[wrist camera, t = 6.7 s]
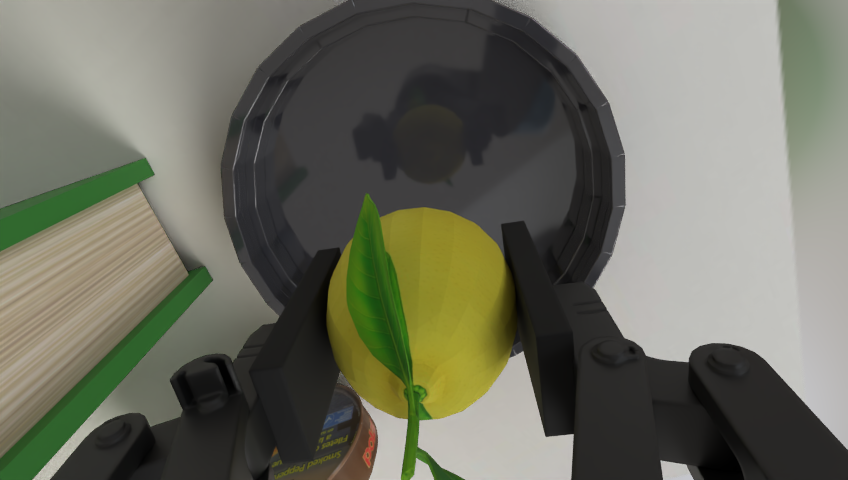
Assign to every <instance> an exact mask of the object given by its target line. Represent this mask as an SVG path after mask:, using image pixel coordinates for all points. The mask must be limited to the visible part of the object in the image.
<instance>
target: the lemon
mask: <svg viewBox="0 0 848 480" xmlns="http://www.w3.org/2000/svg"><path fill="white" fill-rule="evenodd" d="M326 326H327V331H328V336H329V340H330V343H331V347H332V351H333V355H334V359H335V361H336V363H337V365H338V367H339V369H340V371H341V372H342V374H343V375H344V377H345V378H346V379H347V381H348V382H349V384H350V385H351V387H352V388H353V389H354V390H355V391H356V392H357V394H358V395H360V396H361V397H362V398H364V399H365V400H366V401H367V402H369V403H370V404H371V405H373V406H374V407H375V408H377V409H379V410H382V411H384V412H386V413H388V414H390V415H393V416H395V417H397V418H403V419H408V427H407V436H406V445H405V452H404V459H403V467H402V475H401V480H410V479H411V478H412V477H413V475H414V471H415V463H416V458H418V459H419V460H421V461H423V462H424V463H426V464H428V465H429V467H430V470H431V472H432V474H433V477H434V480H465V479H463V478H461V477H459V476H457V475H455V474H453V473H451V472H449V471H447V470H445V469H443V468H441V467H440V466H439V465H438V464H437V463H436V462H435V461H434V459H433V458H432V457H431V456H430V455H429V454H428V453H427V452H425V451H424V450H422V449H420V448H418V447H417V446H418V434H419V420H430V419H440V418H444V417H447V416H450V415H452V414H455V413H458V412H461V411H463V410H465V409H466V408H467V407H469V406H470V405H471V404H473V403H474V402H475V401H477V400H478V399H479V398H480V397H482V396H483V395H484V394H485V393H486V392H487V391H488V390H489V388H490V387H491V386H492V384H493V383H494V382H495V380H496V379H497V377H498V376H499V375H500V373H501V372H502V370H503V369H504V367H505V366H506V365H507V362H508V359H509V356H510V353H511V349H512V346H513V342H514V339H515V335H516V331H517V306H516V293H515V284H514V280H513V276H512V273H511V271H510V269H509V266H508V264H507V262H506V260H505V258H504V256H503V254H502V252H501V250H500V248H499V246H498V245H497V243H496V242H495V241H494V240H493V239H492V238H491V237H490V236H489V235H487V234H486V233H485V232H484V231H483V230H482V229H481V228H480V227H479V226H478V225H477V224H475V223H474V222H472V221H469V220H467V219H465V218H463V217H461V216H459V215H457V214H454V213H452V212H450V211H444V210H438V209H433V208H427V207H421V208H412V209H404V210H397V211H395V212H392V213H390V214H387V215H385V216H382V217H379V213H378V210H377V207H376V205H375V204H374V202H373V201H372V200H371V198H370V196H369V194H368V193H366V194H365V197H364V201H363V205H362V208H361V211H360V214H359V218H358V221H357V224H356V228H355V232H354V237H353V238H352V239H351V240H350V241H349V243H348V244H347V246H346V247H345V249H344V251H343V253H342V255H341V257H340V260H339V262H338V264H337V266H336V268H335V270H334V272H333V275H332V278H331V280H330V285H329V290H328V302H327V314H326Z"/></svg>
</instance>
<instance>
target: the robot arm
mask: <svg viewBox="0 0 848 480" xmlns="http://www.w3.org/2000/svg"><path fill="white" fill-rule="evenodd" d="M501 229H502V238H503V246H504V254H505V260H506V262H507V264H508V266H509V269H510V271H511V273H512V276H513V280H514V284H515V293H516V306H517V327H518V331H519V335H520V339H521V343H522V347H523V351H524V355H525V358H526V362H527V366H528V370H529V374H530V378H531V382H532V386H533V390H534V393H535V397H536V401H537V405H538V409H539V413H540V417H541V421H542V425H543V428H544V432H545V436H546V437H549V436H558V435H568V434H574V441H573V459H572V478H571V480H663V477H662V469H661V462H660V460H662V461H668V462H674V463H680V464H686V465H687V467H688V469H689V471H690V473H691V475H692V477H693V479H694V480H848V450H847V449H846V448H845V447H844V446H843V444H842V443H841V442H840V441H839V440H838V439H837V438H836V437H835V436H834V435H833V434H832V432H830V430H829V429H828V428H827V427H826V426H825V425H824V424H823V423H822V422H821V421H820V419H819V418H817V416H816V415H815V414H814V413H813V412H812V411H811V410H810V409H809V407H808V406H807V405H806V404H805V403H804V402H803V401H802V400H801V399H800V398H799V397H798V396H797V394H796V393H795V392H794V391H793V390H792V389H791V388H790V387H789V386H788V385H787V384H786V382H785V381H784V380H783V379H782V378H781V377H780V376H779V375H778V374H777V373H776V372H775V371H774V369H773V368H772V367H771V366H770V365H769V364H768V363H767V362H766V361H765V360H764V359H763V358H762V357H760V356H759V355H758V354H756V353H755V352H753V351H750V350H748V349H746V348H743V347H740V346H736V345H731V344H721V343H712V344H707V345H703V346H699V347H698V348H696V349H695V350H693V351H692V353H691V355H690V357H689V362H677V361H666V360H660V359H655V358H651V357H648V356H646V355H645V353H644V351H643V349H642V348H641V347H640V346H639V345H637V344H636V343H635V342H633V341H630V340H628V339H625V338H624V337H623V335H622V334H621V332H620V330H619V329H618V327H617V325H616V324H615V322H614V320H613V319H612V317H611V315H610V314H609V312H608V311H607V309H606V307H605V305H604V304H603V302H602V301H601V299H600V297H599V295H598V294H597V292H596V290H595V289H593V288H592V287H590V286H588V285H587V284H585V283H583V282H575V283H567V284H560V285H552V283H551V281H550V278H549V276H548V274H547V272H546V269H545V267H544V265H543V263H542V260H541V258H540V256H539V253H538V251H537V249H536V247H535V244H534V242H533V240H532V238H531V235H530V233H529V231H528V229H527V226H526V224H525V222H524V221H517V222H510V223H503V224H501ZM340 257H341V252H340V248H339V247H338V248H331V249H324V250H318V251H317V253H316V255H315V256H314V258H313V260H312V262H311V263H310V265H309V267H308V268H307V270H306V272H305V274H304V275H303V277H302V279H301V281H300V282H299V284H298V286H297V288H296V289H295V291H294V293H293V295H292V296H291V298H290V300H289V301H288V303H287V305H286V307H285V308H284V310H283V312H282V314H281V315H280V317H279V319H278V321H277V322H276V323H273V324H266V325H262V326H261V327H260V328H259V329H258V330H256V331H255V332H254V333H253V334H252V335H250V337H249V338H248V340H247V341H246V343H245V345H244V346H243V349H241V351H240V352H239V354H238V356H237V359H235V360H234V362H233V363H232V361H231V358H230V357H229V356H227V355H225V354H211V355H205V356H203V357H200V358H197V359H194V360H193V361H191V362H189V363H187V364H185V365H184V366H182V367H181V368H180V369H179V370H178V371H176V372H175V373H174V375H173V376H172V377H171V379H170V382H171V385H172V387H173V389H174V391H175V394H176V396H177V398H178V400H179V402H180V405H181V407H182V409H183V411H182V414H181V417H179V418H176V419H173V420H170V421H167V422H164V423H161V424H158V425H155V426H152V427H150V425H149V423H148V421H147V419H146V417H145V416H144V415H142V414H140V413H129V414H125V415H121V416H117V417H114V418H113V419H110V420H108V421H106V422H104V423H103V424H102V425H100V426H99V427H97V428H96V429H94V430H93V431H92V432H91V433H90V434H89V435H88V436H87V437H86V438H85V439H84V440H83V441H82V442H81V444H80V445H79V446H78V447H77V448H76V450H75V451H74V452H73V453H72V454H71V455H70V457H69V458H68V459H67V460H66V461H65V463H64V464H63V465H62V466H61V467H60V468H59V470H58V471H57V472H56V473H55V474H54V476H53V477H52V478H51V479H50V480H275V476H274V471H273V468H272V466H271V463H270V459H271V457H272V454H273V452H274V449H275V447H276V448H277V450H278V453H279V456H280V459H281V461H282V464H287V463H296V462H306V461H313V459H314V456H315V453H316V449H317V446H318V443H319V439H320V436H321V433H322V429H323V426H324V423H325V419H326V416H327V413H328V410H329V406H330V403H331V400H332V396H333V393H334V390H335V386H336V383H337V380H338V377H339V373H340V369H339V367H338V365H337V363H336V361H335V359H334V355H333V351H332V347H331V343H330V340H329V336H328V331H327V326H326V314H327V302H328V290H329V285H330V280H331V278H332V275H333V272H334V270H335V268H336V266H337V264H338V262H339V260H340Z"/></svg>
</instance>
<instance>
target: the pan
mask: <svg viewBox="0 0 848 480" xmlns="http://www.w3.org/2000/svg"><path fill="white" fill-rule="evenodd" d="M232 115H233V116H231V120H230V125H229V130H228V134H227V139H226V144H225V149H224V153H223V158H222V163H221V179H222V193H223V208H224V217H225V218H224V219H225V222H226V225H227V228H228V230H229V233H230V236H231V239H232V242H233V245H234V248H235V251H236V254H237V257H238V259H239V262H240V263H241V266H242V267H243V269H244V270H245V272H246V273H247V275H248V277H249V278H250V280H251V281H252V283H253V284H254V286H255V287H256V289H257V290H258V292H259V293H260V295H261V296H262V298H263V299H264V301H265V302H266V303H267V305H268V306H269V307H271V308H272V309H273V310H274V311H275V312H276V313H277V314H278V315H279V316H280V315H281V314H282V312H283V310H284V308H285V307H286V305H287V303H288V301H289V300H290V298H291V296H292V295H293V293H294V291H295V289H296V288H297V286H298V284H299V282H300V281H301V279H302V277H303V275H304V274H305V272H306V270H307V268H308V267H309V265H310V263H311V262H312V260H313V258H314V256H315V255H316V253H317V251H318V250H324V249H331V248H338V247H339V248H340V252H341V255H342V253H343V251H344V249H345V247H346V246H347V244H348V243H349V241H350V240H351V239H352V238H353V237H354V232H355V228H356V224H357V221H358V218H359V214H360V211H361V208H362V205H363V201H364V197H365V194H366V193H368V194H369V196H370V198H371V200H372V201H373V202H374V204H375V205H376V207H377V210H378V213H379V217H382V216H385V215H387V214H390V213H392V212H395V211H397V210H404V209H412V208H421V207H427V208H433V209H438V210H444V211H450V212H452V213H454V214H457V215H459V216H461V217H463V218H465V219H467V220H469V221H472V222H474V223H475V224H477V225H478V226H479V227H480V228H481V229H482V230H483V231H484V232H485V233H486V234H487V235H489V236H490V237H491V238H492V239H493V240H494V241H495V242H496V243H497V245H498V246H499V248H500V250H501V252H502V254H503V256H504V258H505V254H504V246H503V238H502V229H501V224H503V223H510V222H517V221H524V222H525V224H526V226H527V229H528V231H529V233H530V235H531V238H532V240H533V242H534V244H535V247H536V249H537V251H538V253H539V256H540V258H541V260H542V263H543V265H544V267H545V269H546V272H547V274H548V276H549V278H550V281H551V283H552V285H560V284H567V283H575V282H583V283H585V284H587V285H588V286H590V287H592V288H594V286H595V284H596V283H597V281H598V279H599V277H600V276H601V274H602V272H603V270H604V269H605V267H606V265H607V263H608V262H609V260H610V258H611V256H612V254H613V251H614V247H615V243H616V239H617V236H618V232H619V228H620V224H621V221H622V217H623V213H624V209H625V205H626V204H625V155H624V150H623V147H622V143H621V140H620V137H619V134H618V130H617V127H616V124H615V121H614V117H613V114H612V111H611V108H610V104H609V102H608V100H607V99H606V97H605V96H604V94H603V93H602V91H601V90H600V88H599V87H598V85H597V84H596V82H595V81H594V79H593V78H592V76H591V75H590V73H589V72H588V70H587V69H586V67H585V66H584V64H583V63H582V61H581V60H580V58H579V57H578V56H577V55H576V53H575V52H573V51H572V50H571V49H570V48H569V47H567V46H566V45H565V44H564V43H562V42H561V41H560V40H559V39H558V38H556V37H555V36H554V35H553V34H552V33H550V32H549V31H548V30H547V29H546V28H544V27H543V26H542V25H541V24H539V23H538V22H537V21H536V20H535V19H533V18H532V17H530V16H528V15H526V14H524V13H521V12H519V11H516V10H514V9H512V8H509V7H507V6H504V5H502V4H500V3H497V2H495V1H492V0H348V1H346V2H344V3H342V4H340V5H338V6H336V7H335V8H333V9H331V10H329V11H327V12H325V13H323V14H321V15H319V16H317V17H316V18H314V19H312V20H310V21H308V22H306V23H304V24H302V25H300V27H298V28H297V29H296V30H295V31H294V32H293V33H292V34H291V35H290V36H289V37H288V38H287V39H286V40H285V41H284V42H283V43H282V44H280V45H279V46H278V47H277V48H276V49H275V50H274V51H273V52H272V53H271V54H270V55H269V56H268V57H267V58H266V59H265V60H264V61H263V62H262V63H261V64H260V65H259V68H257V70H256V71H255V73H254V75H253V77H252V79H251V81H250V82H249V84H248V86H247V88H246V90H245V92H244V94H243V95H242V97H241V99H240V101H239V103H238V105H237V106H236V108H235V110H234V112H233V114H232ZM522 351H523V347H522V343H521V339H520V335H519V331H518V327H517V331H516V335H515V339H514V342H513V346H512V349H511V353H510V356H509V358H510V357H513V356H516V354H519V353H521V352H522Z"/></svg>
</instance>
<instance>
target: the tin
mask: <svg viewBox="0 0 848 480" xmlns="http://www.w3.org/2000/svg"><path fill="white" fill-rule="evenodd" d="M377 446H378V435H377V429H376V426H375V424H374V422H373V420H372V418H371V416H370V415H369V413H368V412H367V411H366V409H365V408H364V406H363V405H362V402H361V400H360V398H359V396H358V395H357V393H356V392H355V391H354V390H352V389H351V388H349V387H347V386H344V385H340V384H336V386H335V390H334V393H333V396H332V400H331V403H330V406H329V410H328V413H327V416H326V419H325V423H324V426H323V429H322V433H321V436H320V439H319V443H318V446H317V449H316V453H315V456H314V459H313V461H306V462H296V463H287V464H282V461H281V459H280V456H279V453H278V450H277V448H276V447H275V449H274V452H273V454H272V457H271V459H270V463H271V466H272V468H273V471H274V476H275V480H369V478H370V475H371V473H372V469H373V465H374V461H375V457H376V453H377Z"/></svg>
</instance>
